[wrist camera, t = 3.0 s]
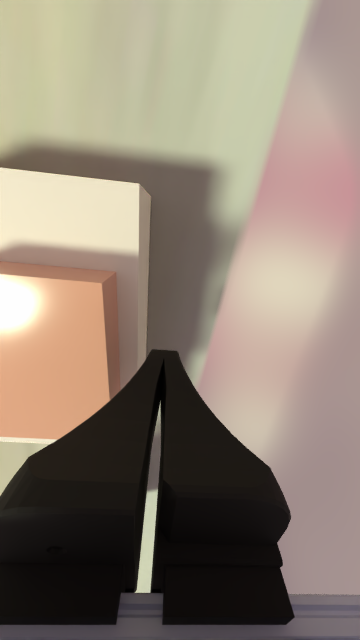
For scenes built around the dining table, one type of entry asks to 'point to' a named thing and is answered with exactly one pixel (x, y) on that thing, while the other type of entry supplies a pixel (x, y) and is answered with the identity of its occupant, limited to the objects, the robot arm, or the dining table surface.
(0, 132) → the dining table surface
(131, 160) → the dining table surface
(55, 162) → the dining table surface
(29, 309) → the terracotta tile
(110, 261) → the cream rectangular block
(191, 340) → the dining table surface
